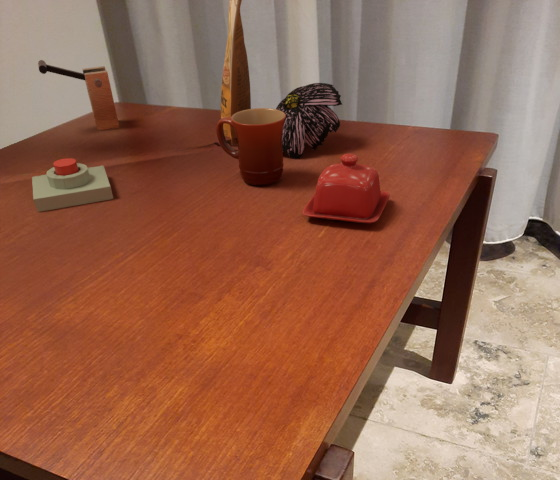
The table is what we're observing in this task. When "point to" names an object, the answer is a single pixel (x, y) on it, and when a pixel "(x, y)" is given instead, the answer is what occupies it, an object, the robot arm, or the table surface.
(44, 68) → the lever
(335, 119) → the decorative flower
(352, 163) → the butter dish
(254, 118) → the mug
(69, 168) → the button
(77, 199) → the button housing
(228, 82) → the pancake mix bag
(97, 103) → the bracket
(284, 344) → the table surface
